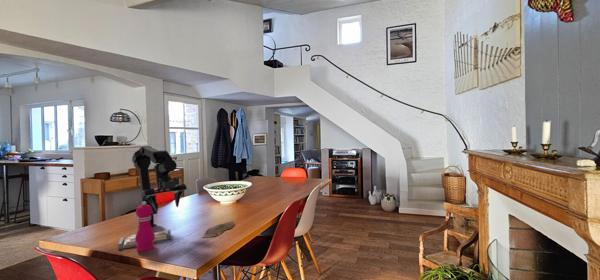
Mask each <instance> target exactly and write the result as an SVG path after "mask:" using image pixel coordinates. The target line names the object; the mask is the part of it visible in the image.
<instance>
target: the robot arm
mask: <svg viewBox="0 0 600 280" xmlns="http://www.w3.org/2000/svg"><path fill="white" fill-rule="evenodd" d="M131 160H132V163H133V166H134V168H135V169H136V170H137V171H138V178H139V186H140V196H141V198H140V201H139V202H138V207H139V206H141V205H142V202H143V201H145V202H146V205H150V206H151V207H152V213H151V214H150V215H151V219H150V225H151V228H153V227H156V226H157V224H156V223H155V222H154V219H155V218H154V215H157V214H158V211H159V204H158V203H157V198H156V197H157V196H156V195H157V194H165V193H170V192H175V193H173V195H174V196H173V197H174V203H175V207H176V208H178V207H179V205H180V199H181V196H182V194H183V193H184V192H185V191H186V190H188V189H187V185H186V184H185V183H184V184H180V183H181V181H180V178H179V177H174V178H173V179H172V177H171V176H170V173H172V172H174V171H175V170H176V169H177V165H178V164H177V162H176V161H175V160H173V157H172V156H171V155H170V153H169V152H168V150H158V149H156V148H153V147H152V146H150V145H148V146H147V145H146V146H145V145H144V146H140V147H139V149H138V150H136V151H135V152H133V154H132V158H131ZM151 163H153V164H155V166H154V167H153V170H154V173H155V183H156V187H157V188H156V189H155V188H152V187H151V179H150V173H149V168H150V166H151ZM137 228H139V225H138V226H137Z"/></svg>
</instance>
